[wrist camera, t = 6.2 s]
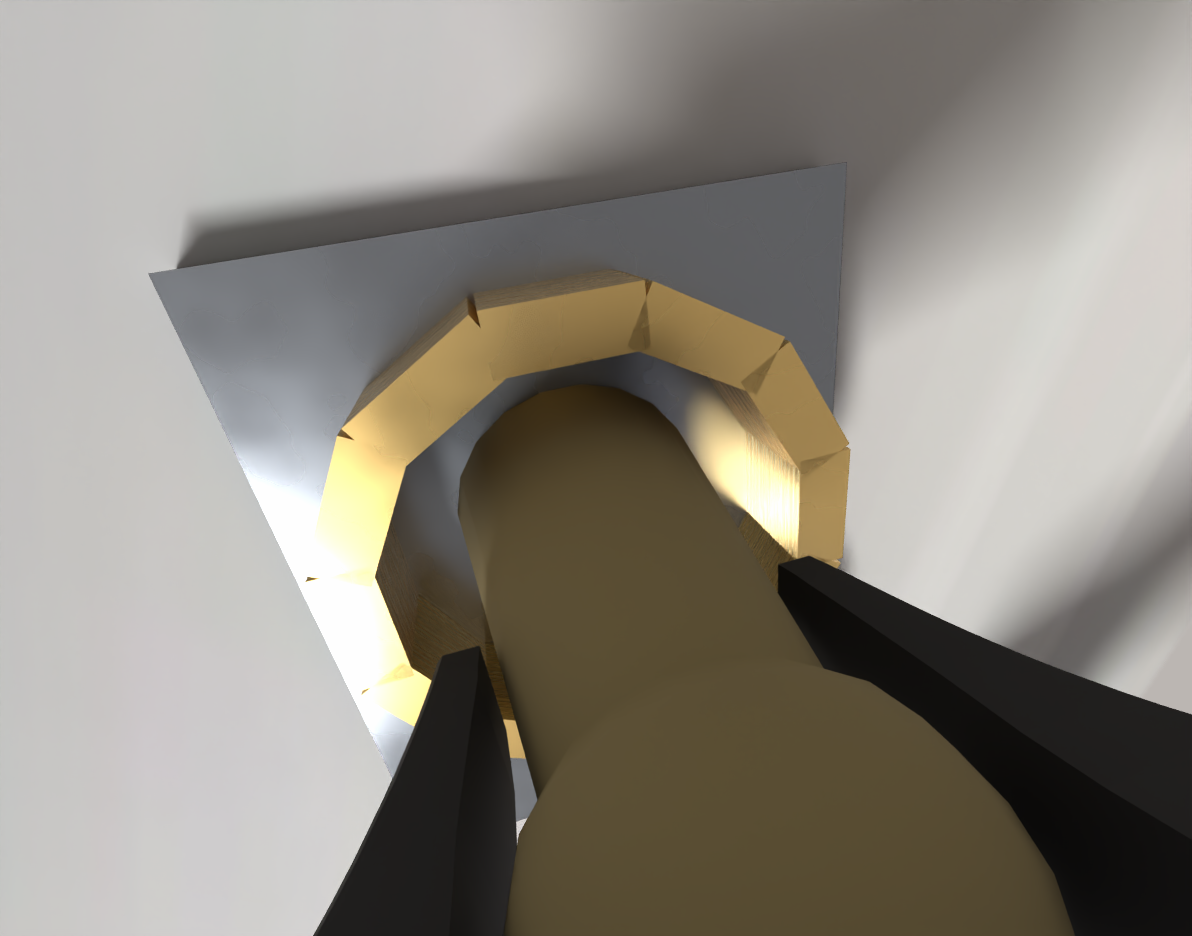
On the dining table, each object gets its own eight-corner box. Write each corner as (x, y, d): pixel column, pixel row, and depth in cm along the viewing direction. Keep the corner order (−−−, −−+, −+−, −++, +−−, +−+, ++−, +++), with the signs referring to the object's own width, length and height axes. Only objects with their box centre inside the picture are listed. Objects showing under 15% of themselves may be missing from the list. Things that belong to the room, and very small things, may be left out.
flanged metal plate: (800, 702, 20) (861, 788, 17) (428, 819, 18) (422, 940, 15) (819, 166, 13) (937, 147, 9) (174, 268, 11) (56, 288, 7)
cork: (609, 330, 12) (1259, 792, 2) (731, 507, 15) (1261, 1062, 5) (401, 492, 12) (188, 1470, 3) (557, 635, 15) (732, 1375, 5)
